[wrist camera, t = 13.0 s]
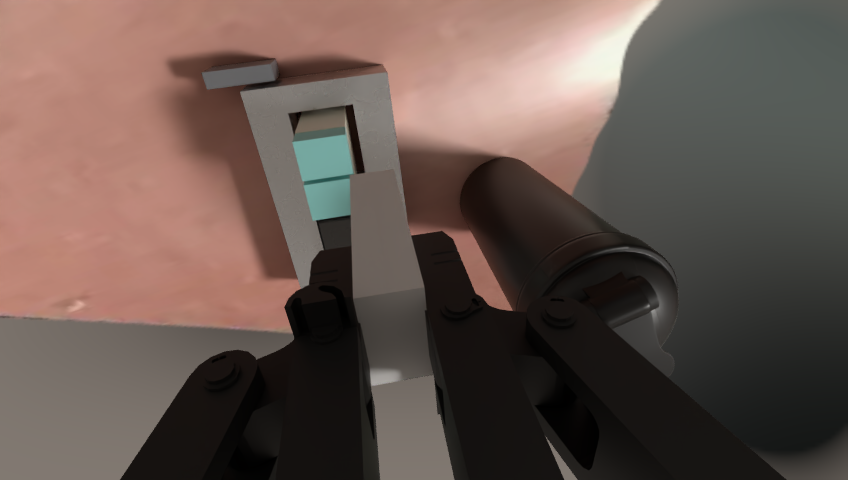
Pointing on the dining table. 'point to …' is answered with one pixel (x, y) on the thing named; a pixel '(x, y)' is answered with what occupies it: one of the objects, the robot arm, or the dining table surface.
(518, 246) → the water bottle
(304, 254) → the panel
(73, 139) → the dining table surface
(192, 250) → the dining table surface
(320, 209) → the plug
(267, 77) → the pair of grey blocks
